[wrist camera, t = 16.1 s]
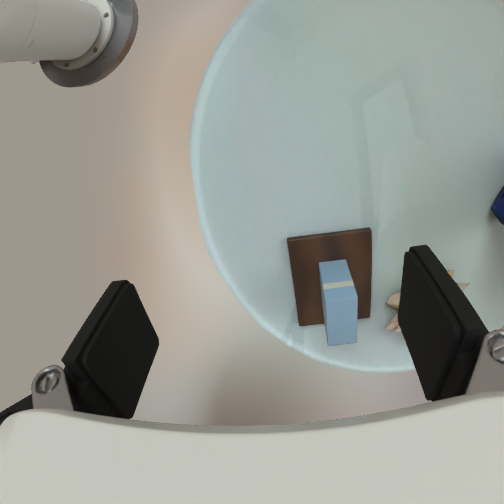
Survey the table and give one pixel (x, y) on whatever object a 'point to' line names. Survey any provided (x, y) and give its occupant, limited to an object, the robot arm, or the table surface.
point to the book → (499, 206)
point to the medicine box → (338, 302)
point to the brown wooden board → (323, 250)
